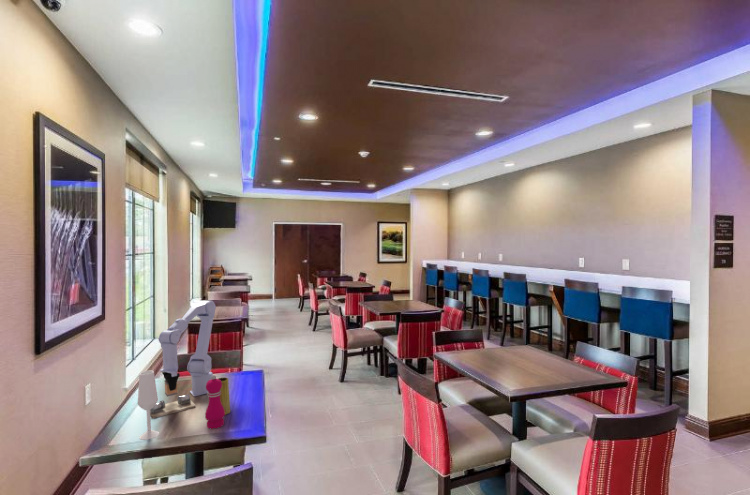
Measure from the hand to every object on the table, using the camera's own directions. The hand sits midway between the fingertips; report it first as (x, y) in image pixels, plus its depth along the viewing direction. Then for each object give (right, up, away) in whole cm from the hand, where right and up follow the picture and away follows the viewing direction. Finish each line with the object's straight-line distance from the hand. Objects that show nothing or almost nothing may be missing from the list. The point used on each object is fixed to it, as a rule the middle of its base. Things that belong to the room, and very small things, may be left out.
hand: (171, 388), depth 180 cm
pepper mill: (+26, -9, -17) cm, 32 cm away
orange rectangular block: (0, -2, 0) cm, 2 cm away
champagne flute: (+3, -10, -24) cm, 26 cm away
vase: (+24, -9, -5) cm, 26 cm away
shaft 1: (-4, -9, -4) cm, 11 cm away
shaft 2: (+4, -9, +3) cm, 10 cm away
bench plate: (0, -9, 0) cm, 9 cm away
